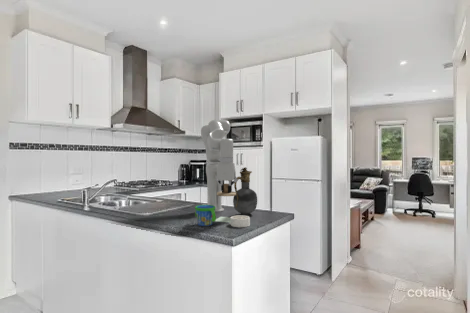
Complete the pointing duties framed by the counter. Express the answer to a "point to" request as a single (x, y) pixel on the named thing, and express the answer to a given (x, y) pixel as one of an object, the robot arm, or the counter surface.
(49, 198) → the counter surface
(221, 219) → the mat
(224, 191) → the lid
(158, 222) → the counter surface
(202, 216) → the snack cup
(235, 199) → the pitcher
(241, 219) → the bowl
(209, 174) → the robot arm
